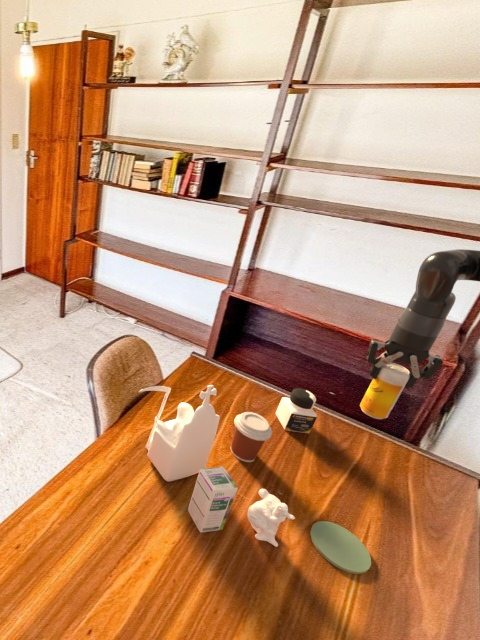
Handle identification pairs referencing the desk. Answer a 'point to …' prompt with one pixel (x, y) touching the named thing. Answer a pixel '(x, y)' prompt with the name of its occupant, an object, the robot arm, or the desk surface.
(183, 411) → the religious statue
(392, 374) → the beer can
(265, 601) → the desk surface
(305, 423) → the medicine bottle
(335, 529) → the coaster
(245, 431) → the coffee cup
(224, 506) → the syrup box
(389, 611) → the desk surface
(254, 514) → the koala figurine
